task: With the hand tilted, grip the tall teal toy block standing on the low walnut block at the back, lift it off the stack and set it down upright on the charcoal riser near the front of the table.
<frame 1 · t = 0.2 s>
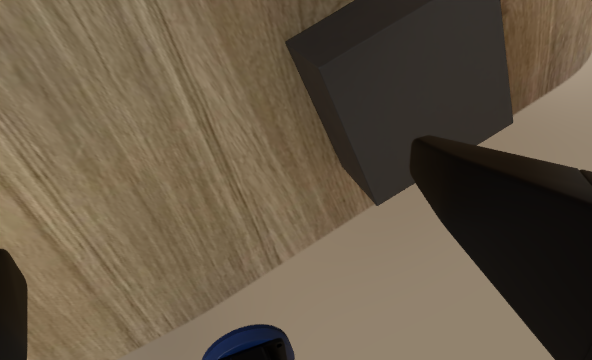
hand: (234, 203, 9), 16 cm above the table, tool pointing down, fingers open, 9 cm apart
charcoal riser: (383, 71, 27), on the table
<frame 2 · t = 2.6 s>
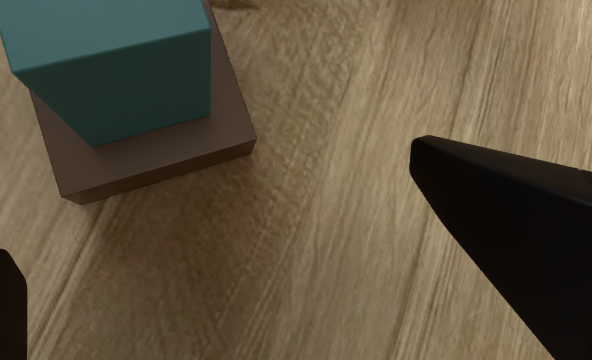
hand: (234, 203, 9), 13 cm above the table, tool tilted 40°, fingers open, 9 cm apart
teal toy block: (135, 76, 20), point 3 cm above the table, touching walnut base block
walnut base block: (144, 99, 23), on the table, touching teal toy block
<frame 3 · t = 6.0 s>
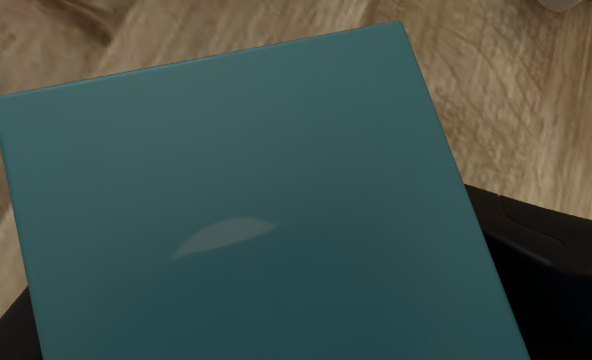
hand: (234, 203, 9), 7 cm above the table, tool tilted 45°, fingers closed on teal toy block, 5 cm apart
teal toy block: (240, 268, 13), point 3 cm above the table, touching gripper, walnut base block
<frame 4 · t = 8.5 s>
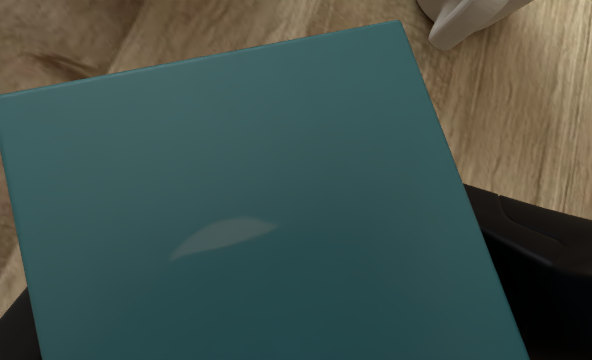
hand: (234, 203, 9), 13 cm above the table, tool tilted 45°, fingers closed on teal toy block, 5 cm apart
teal toy block: (240, 268, 13), point 9 cm above the table, touching gripper
mug: (445, 10, 27), on the table
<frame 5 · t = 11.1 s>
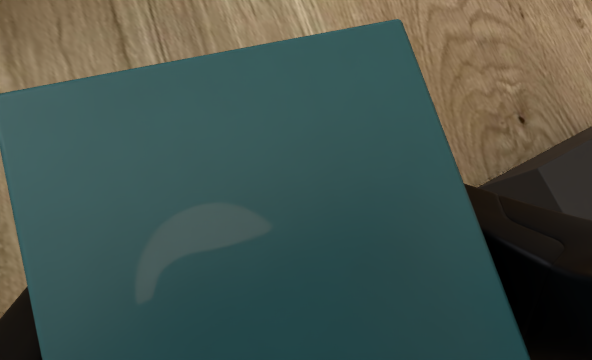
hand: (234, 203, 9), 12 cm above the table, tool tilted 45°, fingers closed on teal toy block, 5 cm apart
teal toy block: (240, 267, 13), point 9 cm above the table, touching gripper
charcoal riser: (580, 229, 25), on the table
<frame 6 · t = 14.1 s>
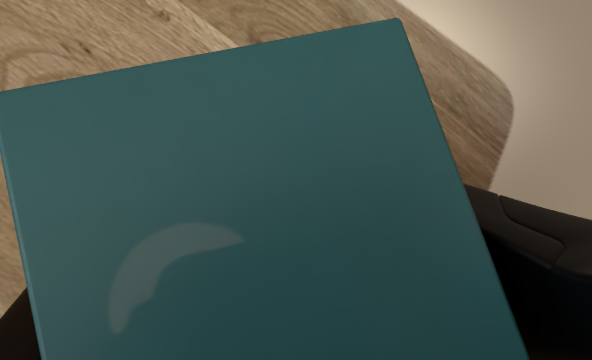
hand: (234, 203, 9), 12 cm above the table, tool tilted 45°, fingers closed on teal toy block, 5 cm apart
teal toy block: (240, 267, 13), point 9 cm above the table, touching gripper
when the fingers open (9 cm above the table, at t = 16.3 s): teal toy block stays where it is, resting on charcoal riser.
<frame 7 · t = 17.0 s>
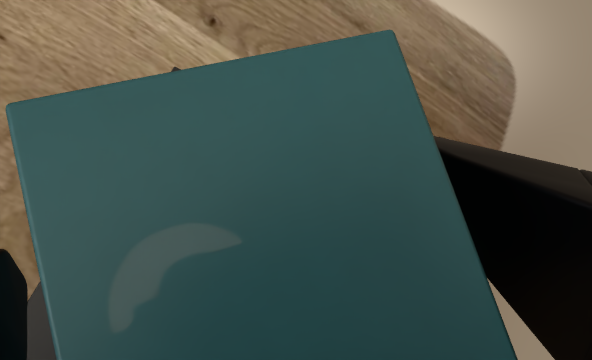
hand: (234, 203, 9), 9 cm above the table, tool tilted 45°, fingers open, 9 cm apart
teal toy block: (240, 267, 13), point 5 cm above the table, touching charcoal riser
charcoal riser: (234, 271, 18), on the table
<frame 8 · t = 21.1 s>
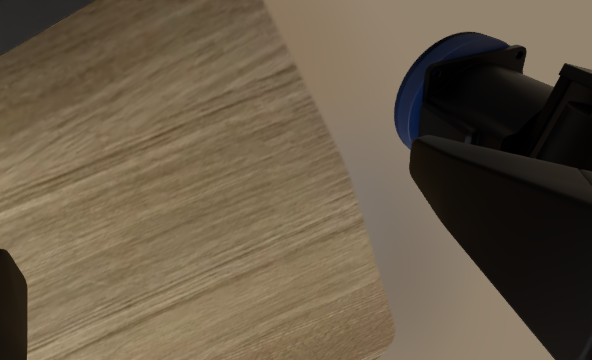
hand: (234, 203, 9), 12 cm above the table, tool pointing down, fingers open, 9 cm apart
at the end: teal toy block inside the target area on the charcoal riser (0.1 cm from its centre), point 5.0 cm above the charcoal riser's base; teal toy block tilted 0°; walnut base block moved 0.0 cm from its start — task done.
